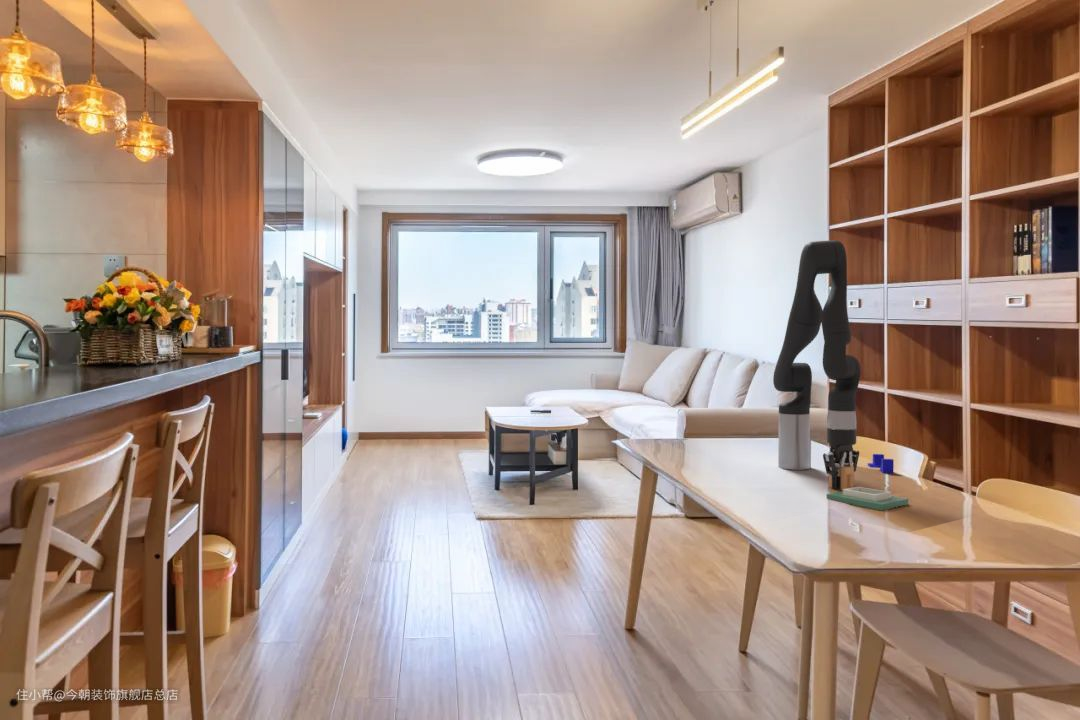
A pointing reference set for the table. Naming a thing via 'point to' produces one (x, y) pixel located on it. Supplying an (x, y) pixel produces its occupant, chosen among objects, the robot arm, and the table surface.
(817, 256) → the robot arm
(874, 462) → the cable clip
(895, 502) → the board
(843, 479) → the tan rectangular block
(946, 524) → the table surface
